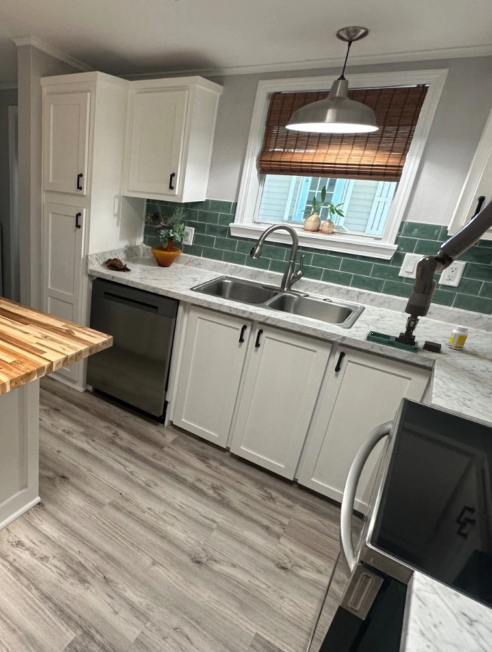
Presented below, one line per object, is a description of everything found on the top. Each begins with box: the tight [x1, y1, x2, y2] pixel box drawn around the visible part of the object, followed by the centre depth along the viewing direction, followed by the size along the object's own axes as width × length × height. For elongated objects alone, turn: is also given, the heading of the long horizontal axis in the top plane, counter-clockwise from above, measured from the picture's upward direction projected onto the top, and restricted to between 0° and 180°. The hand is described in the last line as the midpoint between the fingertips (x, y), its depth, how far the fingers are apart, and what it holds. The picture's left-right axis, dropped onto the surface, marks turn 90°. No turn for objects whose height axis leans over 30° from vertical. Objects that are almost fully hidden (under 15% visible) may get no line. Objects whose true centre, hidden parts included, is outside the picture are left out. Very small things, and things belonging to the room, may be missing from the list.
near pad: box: [397, 331, 417, 345], centre depth 174 cm, size 6×6×3 cm
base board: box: [365, 330, 419, 354], centre depth 177 cm, size 18×12×2 cm, turn 51°
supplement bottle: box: [446, 324, 469, 351], centre depth 177 cm, size 5×5×10 cm
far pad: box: [422, 340, 442, 354], centre depth 173 cm, size 6×6×3 cm
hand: (405, 340), depth 174 cm, fingers closed on near pad, 5 cm apart
